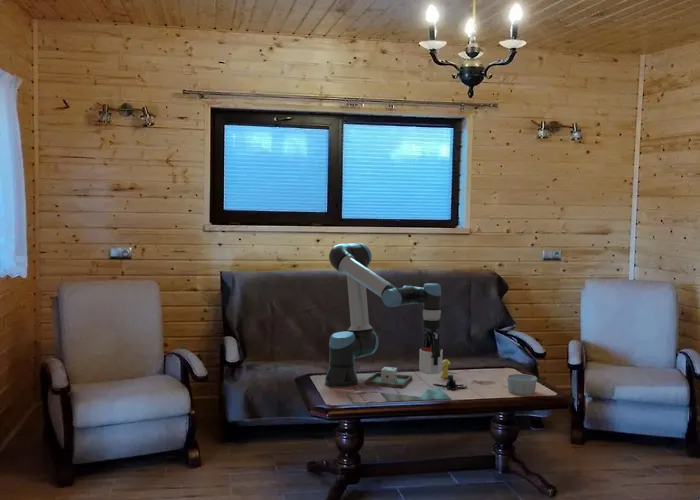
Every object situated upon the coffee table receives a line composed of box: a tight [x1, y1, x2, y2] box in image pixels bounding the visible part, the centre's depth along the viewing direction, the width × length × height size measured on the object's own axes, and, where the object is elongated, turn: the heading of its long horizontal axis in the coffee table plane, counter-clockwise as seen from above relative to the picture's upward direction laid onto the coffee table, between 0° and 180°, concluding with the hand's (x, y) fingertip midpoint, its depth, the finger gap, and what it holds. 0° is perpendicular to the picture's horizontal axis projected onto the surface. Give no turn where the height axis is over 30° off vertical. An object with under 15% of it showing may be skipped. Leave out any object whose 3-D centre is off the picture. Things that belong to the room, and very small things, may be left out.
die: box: [380, 366, 398, 383], centre depth 333 cm, size 6×6×6 cm
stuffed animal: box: [432, 374, 468, 391], centre depth 327 cm, size 12×10×12 cm
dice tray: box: [364, 371, 413, 389], centre depth 334 cm, size 18×18×2 cm
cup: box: [418, 347, 444, 375], centre depth 312 cm, size 10×10×10 cm
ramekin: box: [506, 373, 538, 396], centre depth 320 cm, size 13×13×7 cm
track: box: [345, 388, 452, 405], centre depth 310 cm, size 43×16×1 cm, turn 101°
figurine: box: [440, 358, 460, 379], centre depth 344 cm, size 12×12×9 cm
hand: (430, 369), depth 312 cm, fingers closed on cup, 10 cm apart
